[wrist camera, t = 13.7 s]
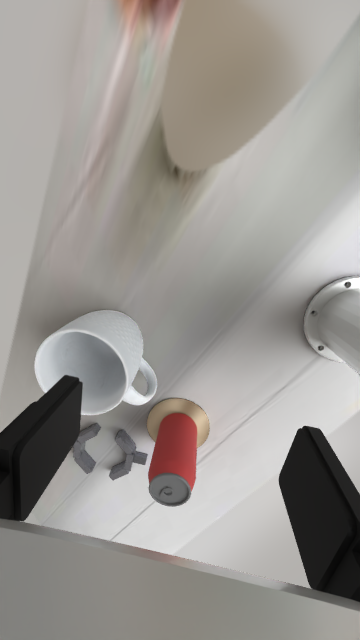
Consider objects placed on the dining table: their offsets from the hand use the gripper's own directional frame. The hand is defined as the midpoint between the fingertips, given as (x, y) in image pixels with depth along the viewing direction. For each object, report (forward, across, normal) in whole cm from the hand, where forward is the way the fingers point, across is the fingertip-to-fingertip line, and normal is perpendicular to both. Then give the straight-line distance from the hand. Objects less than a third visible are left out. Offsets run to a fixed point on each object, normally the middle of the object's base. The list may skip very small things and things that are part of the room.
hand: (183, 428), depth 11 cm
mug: (+28, +10, +10) cm, 32 cm away
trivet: (+28, -1, +24) cm, 37 cm away
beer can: (+28, -1, +24) cm, 36 cm away
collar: (+28, +11, +32) cm, 44 cm away
